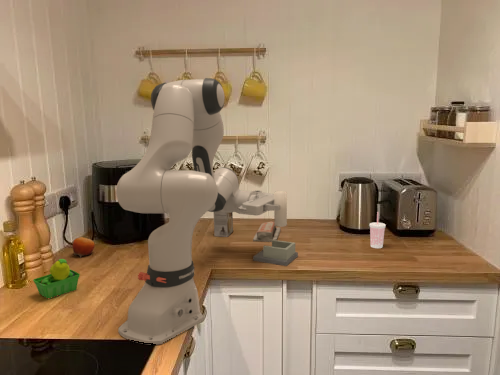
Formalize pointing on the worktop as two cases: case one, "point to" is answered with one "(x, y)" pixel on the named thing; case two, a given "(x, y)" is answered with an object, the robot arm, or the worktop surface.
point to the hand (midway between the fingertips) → (282, 206)
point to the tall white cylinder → (281, 214)
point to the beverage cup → (377, 233)
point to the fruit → (83, 246)
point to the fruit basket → (57, 280)
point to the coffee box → (223, 223)
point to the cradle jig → (277, 253)
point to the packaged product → (267, 232)
